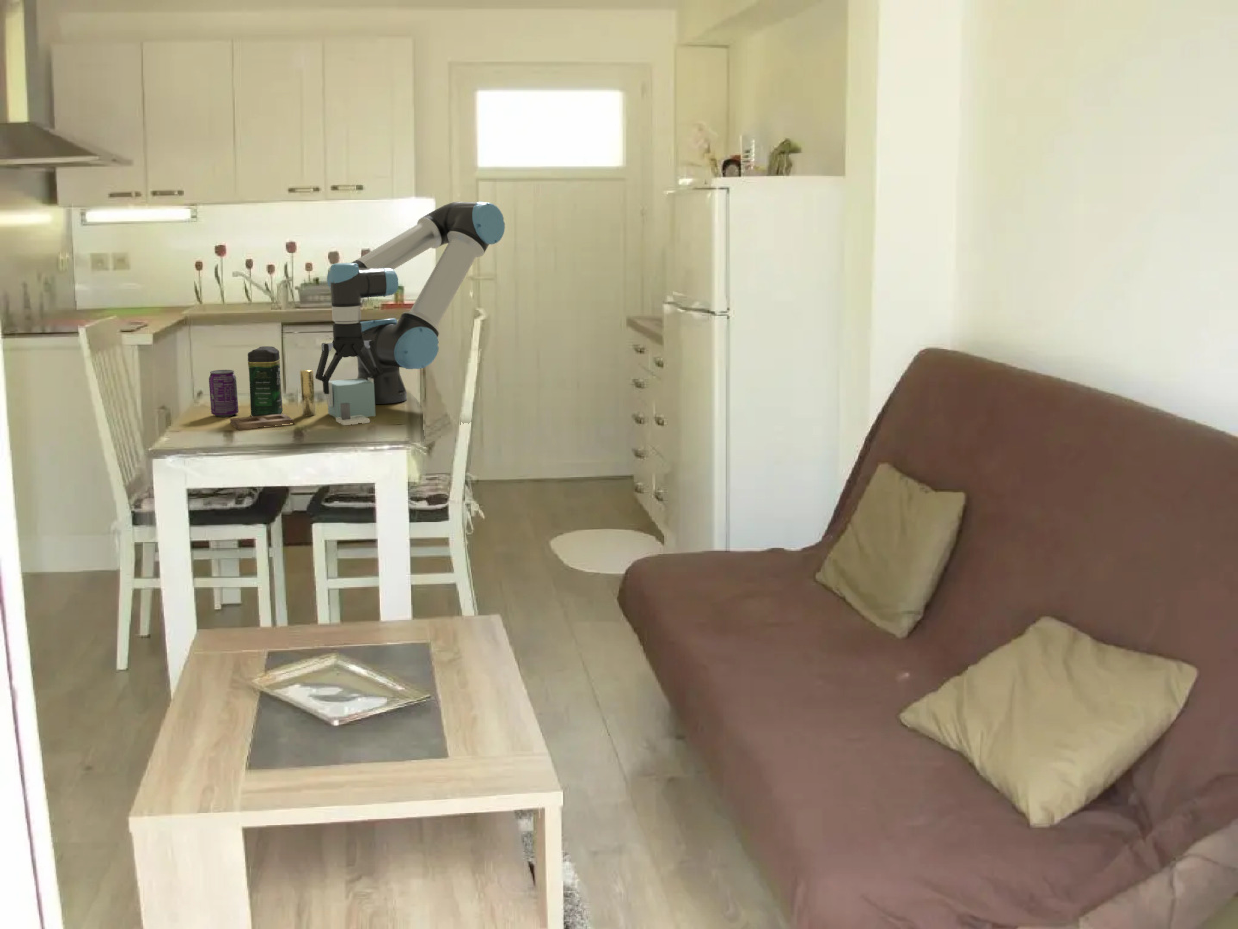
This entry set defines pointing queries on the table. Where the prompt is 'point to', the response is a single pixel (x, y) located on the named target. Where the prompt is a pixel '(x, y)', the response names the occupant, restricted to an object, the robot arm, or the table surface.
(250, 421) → the brown grid frame
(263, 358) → the coffee jar
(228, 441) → the table surface
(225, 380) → the beverage can
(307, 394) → the brass peg
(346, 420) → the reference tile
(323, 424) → the table surface
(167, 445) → the table surface
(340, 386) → the block
